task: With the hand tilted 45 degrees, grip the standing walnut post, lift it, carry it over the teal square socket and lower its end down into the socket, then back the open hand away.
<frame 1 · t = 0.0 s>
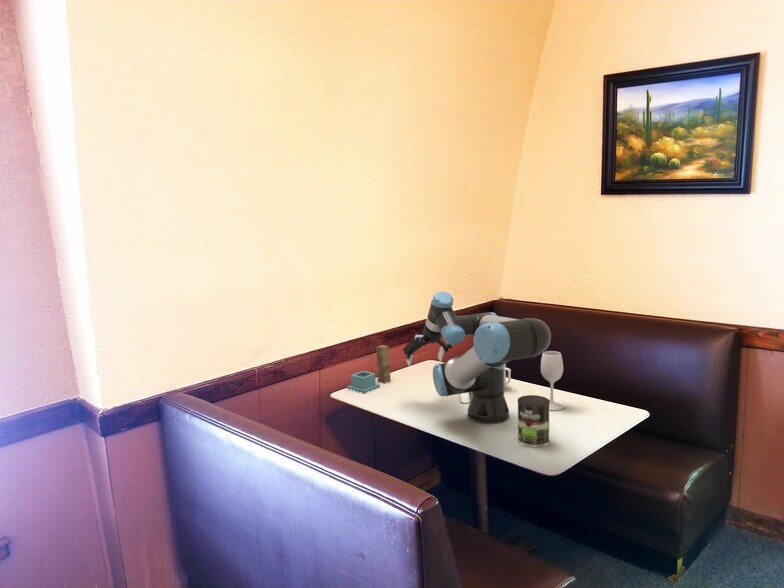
hand: (424, 360, 243), 15 cm above the table, tool tilted 35°, fingers open, 13 cm apart
coffee can: (533, 441, 199), on the table
post: (384, 381, 268), on the table
wineglass: (551, 407, 229), on the table
teal square socket: (363, 388, 260), on the table
mug: (498, 389, 252), on the table
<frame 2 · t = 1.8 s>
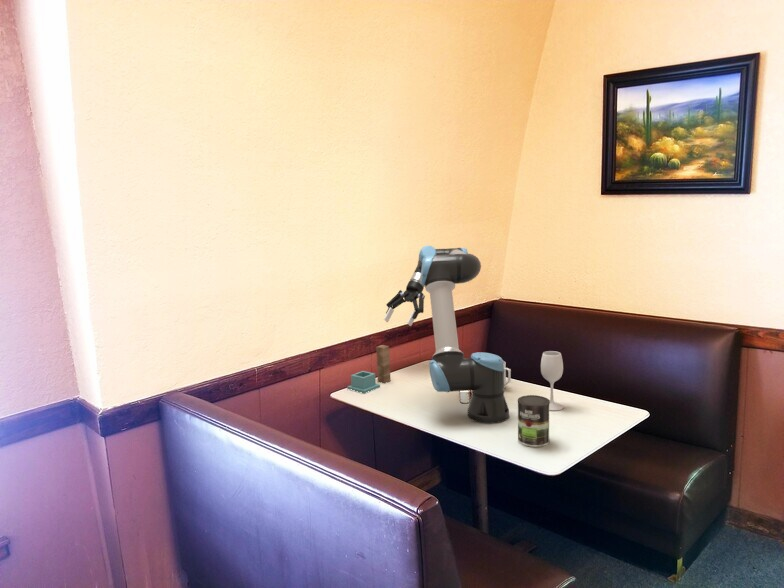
hand: (397, 322, 271), 25 cm above the table, tool tilted 45°, fingers open, 13 cm apart
nothing on the table moved.
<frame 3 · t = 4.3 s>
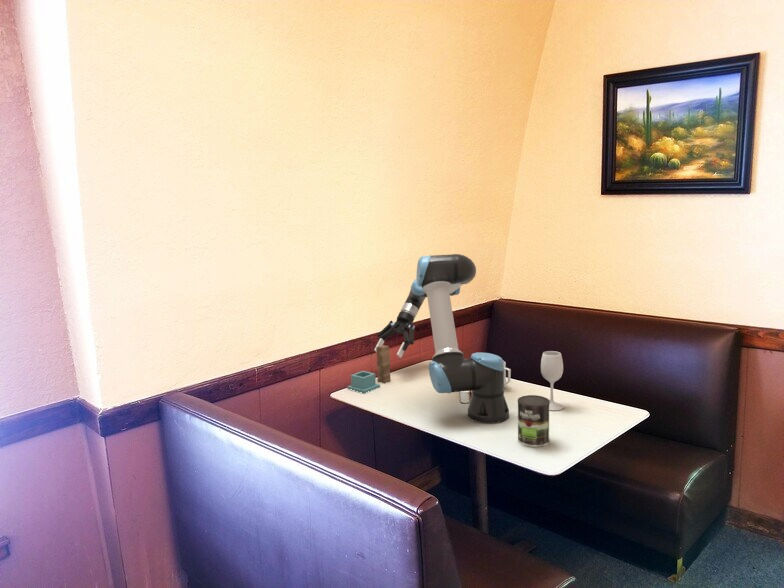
hand: (387, 354, 269), 12 cm above the table, tool tilted 45°, fingers open, 13 cm apart
nothing on the table moved.
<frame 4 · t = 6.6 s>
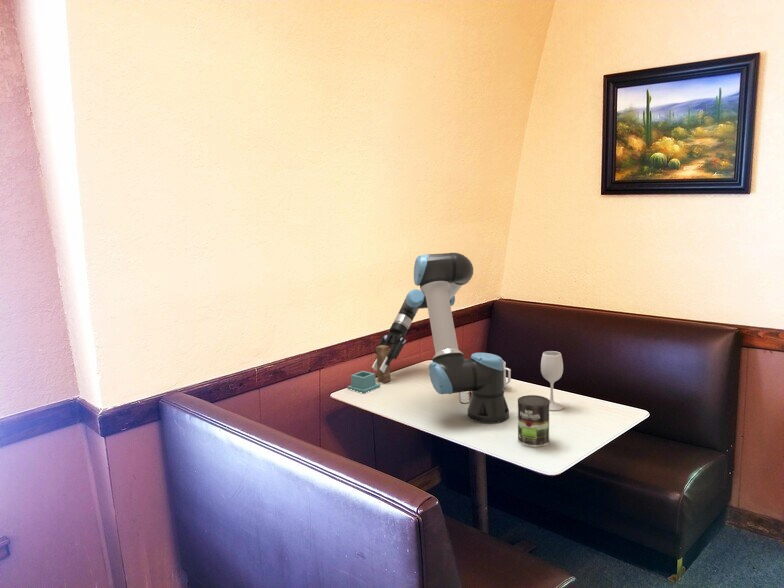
hand: (377, 370, 264), 6 cm above the table, tool tilted 45°, fingers closed on post, 4 cm apart
post: (384, 381, 268), on the table, touching gripper
everything else where it was.
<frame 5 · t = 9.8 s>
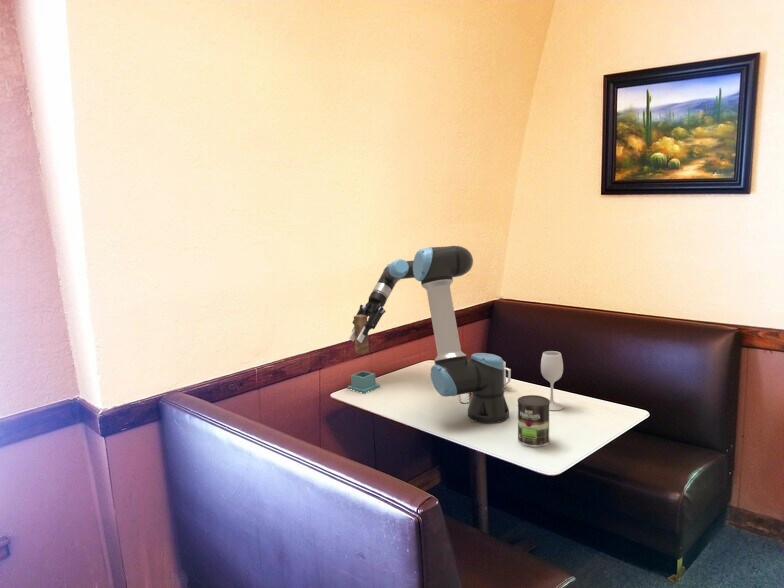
hand: (355, 340, 254), 22 cm above the table, tool tilted 45°, fingers closed on post, 4 cm apart
post: (362, 352, 257), point 16 cm above the table, touching gripper
everything else where it was.
when the fingers open (9 cm above the table, at t = 13.2 s): post drops 1 cm, resting on teal square socket.
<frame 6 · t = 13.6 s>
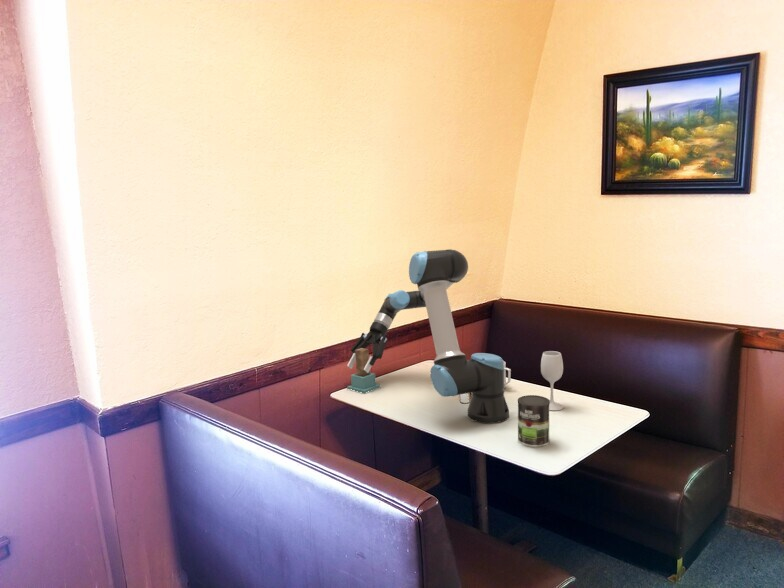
hand: (357, 369, 256), 9 cm above the table, tool tilted 45°, fingers open, 9 cm apart
post: (363, 385, 260), point 1 cm above the table, touching teal square socket
everything else where it was.
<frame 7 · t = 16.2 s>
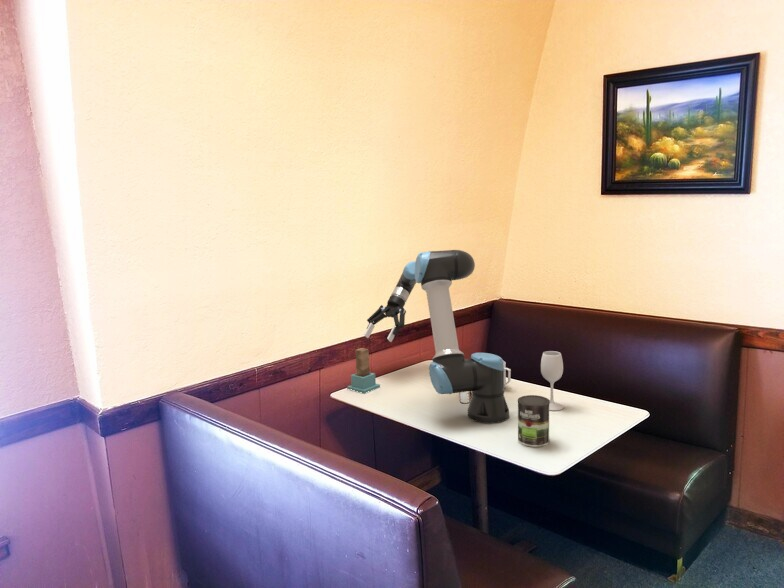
hand: (377, 338, 264), 20 cm above the table, tool tilted 45°, fingers open, 13 cm apart
nothing on the table moved.
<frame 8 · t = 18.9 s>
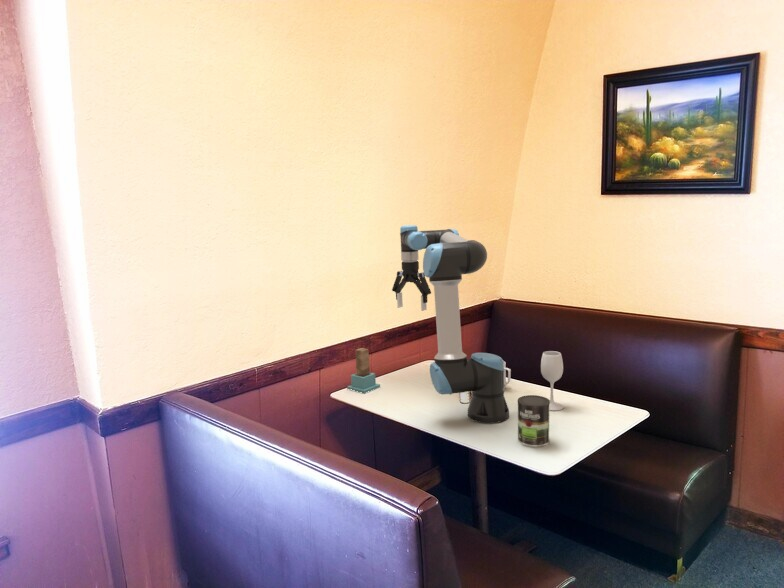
hand: (411, 308, 266), 32 cm above the table, tool pointing down, fingers open, 13 cm apart
nothing on the table moved.
at the end: post 0.0 cm off-centre on the teal square socket, point 1.2 cm above the teal square socket's base; post tilted 0°; the gripper is holding nothing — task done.
